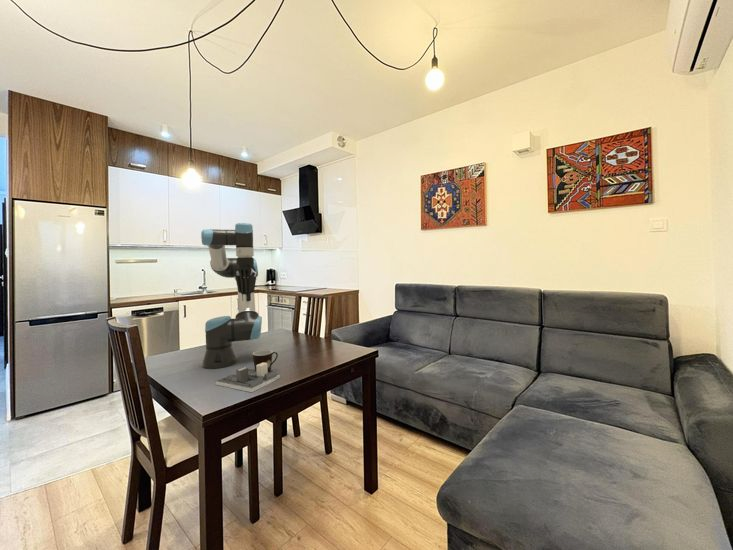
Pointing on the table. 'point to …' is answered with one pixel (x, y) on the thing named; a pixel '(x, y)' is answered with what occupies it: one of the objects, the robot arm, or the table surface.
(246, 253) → the robot arm
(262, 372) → the fader
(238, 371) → the block
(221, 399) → the table surface
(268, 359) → the coffee mug
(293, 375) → the table surface
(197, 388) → the table surface
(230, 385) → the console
